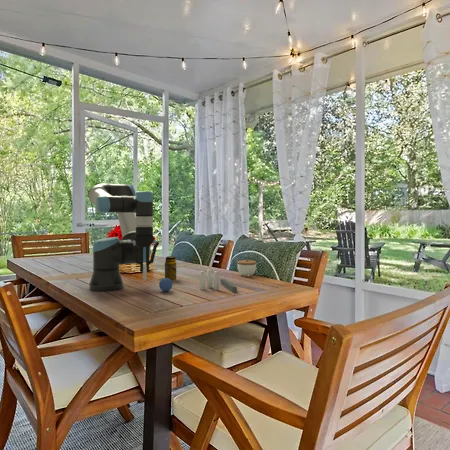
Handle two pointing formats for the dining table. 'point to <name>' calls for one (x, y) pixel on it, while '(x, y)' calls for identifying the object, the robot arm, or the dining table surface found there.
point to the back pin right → (216, 280)
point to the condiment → (170, 268)
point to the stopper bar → (229, 285)
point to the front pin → (202, 280)
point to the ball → (165, 284)
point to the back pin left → (209, 278)
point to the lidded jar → (246, 267)
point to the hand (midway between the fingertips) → (144, 279)
